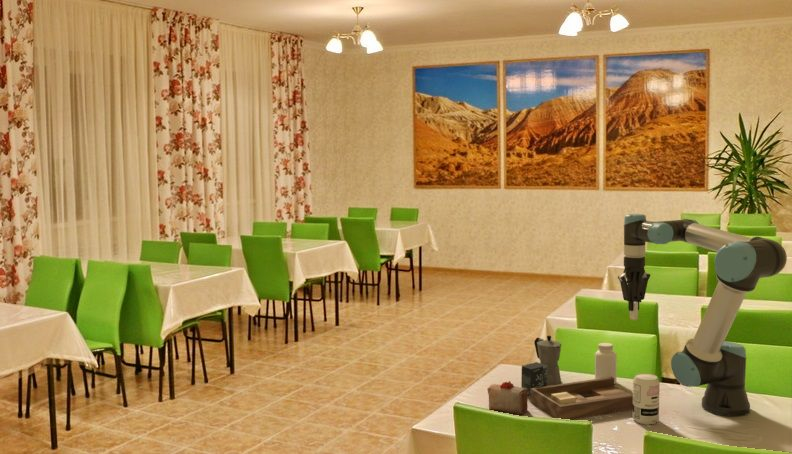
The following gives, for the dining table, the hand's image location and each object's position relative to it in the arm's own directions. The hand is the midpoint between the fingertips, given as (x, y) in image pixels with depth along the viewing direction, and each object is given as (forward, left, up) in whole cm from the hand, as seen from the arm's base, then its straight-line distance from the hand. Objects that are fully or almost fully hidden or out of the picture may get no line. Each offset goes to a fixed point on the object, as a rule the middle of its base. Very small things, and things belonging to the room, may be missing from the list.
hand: (633, 319), depth 272 cm
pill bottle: (+9, +5, -27) cm, 29 cm away
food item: (-2, +53, -27) cm, 60 cm away
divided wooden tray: (-9, +25, -26) cm, 38 cm away
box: (+9, +36, -27) cm, 46 cm away
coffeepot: (+20, +24, -27) cm, 41 cm away
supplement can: (-29, +16, -27) cm, 42 cm away
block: (-12, +37, -24) cm, 46 cm away
